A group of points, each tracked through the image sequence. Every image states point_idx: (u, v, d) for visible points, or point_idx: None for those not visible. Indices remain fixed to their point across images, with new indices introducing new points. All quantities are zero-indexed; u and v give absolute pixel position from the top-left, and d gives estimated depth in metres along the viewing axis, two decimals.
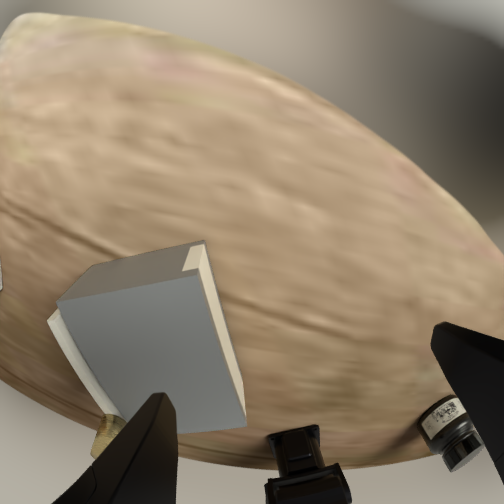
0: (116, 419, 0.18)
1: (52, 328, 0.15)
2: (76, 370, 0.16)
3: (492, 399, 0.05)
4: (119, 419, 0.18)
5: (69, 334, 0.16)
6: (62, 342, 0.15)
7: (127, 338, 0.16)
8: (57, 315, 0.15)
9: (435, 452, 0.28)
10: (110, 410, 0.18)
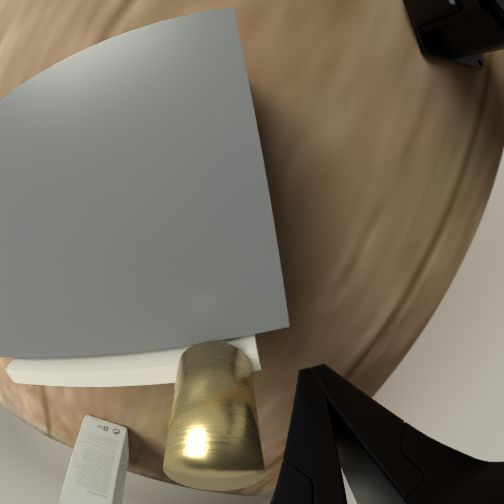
0: (179, 364, 0.08)
1: (19, 380, 0.09)
2: (71, 383, 0.09)
3: (356, 470, 0.05)
4: (182, 357, 0.08)
5: (31, 361, 0.09)
6: (30, 377, 0.09)
7: None
8: (11, 363, 0.09)
9: None
10: (167, 365, 0.09)
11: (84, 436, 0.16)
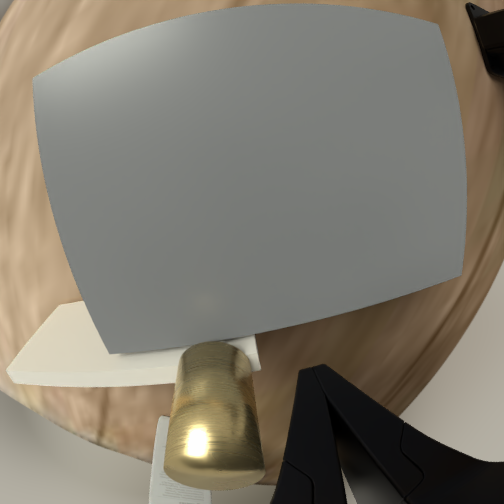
0: (179, 364, 0.08)
1: (19, 381, 0.09)
2: (72, 383, 0.09)
3: (356, 470, 0.05)
4: (183, 357, 0.08)
5: (31, 361, 0.09)
6: (31, 377, 0.09)
7: (155, 217, 0.07)
8: (11, 363, 0.09)
9: None
10: (167, 365, 0.09)
11: (163, 440, 0.17)
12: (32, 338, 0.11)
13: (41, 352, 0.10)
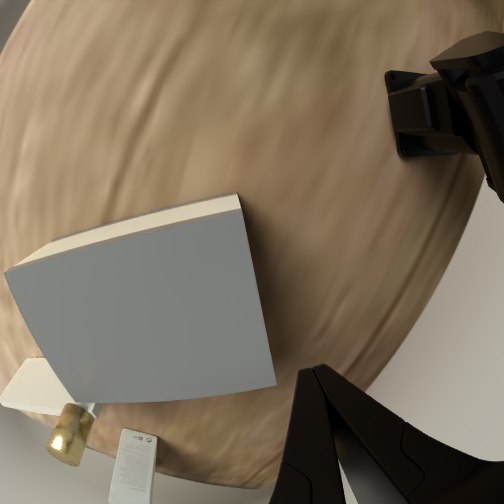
0: (62, 410, 0.14)
1: (5, 405, 0.14)
2: (28, 409, 0.14)
3: (356, 470, 0.05)
4: (63, 407, 0.14)
5: (10, 396, 0.15)
6: (10, 404, 0.14)
7: (80, 352, 0.13)
8: (1, 396, 0.15)
9: None
10: (61, 409, 0.14)
11: (124, 445, 0.22)
12: (11, 381, 0.17)
13: (15, 391, 0.16)
